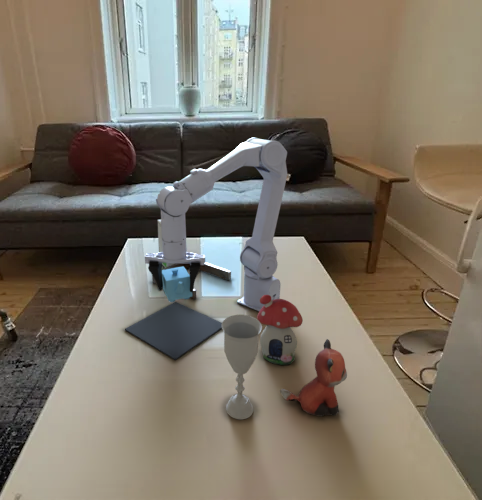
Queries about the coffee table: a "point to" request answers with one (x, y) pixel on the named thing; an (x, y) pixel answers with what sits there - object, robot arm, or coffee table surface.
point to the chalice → (240, 358)
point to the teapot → (176, 283)
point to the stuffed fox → (322, 384)
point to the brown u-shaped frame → (205, 268)
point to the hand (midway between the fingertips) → (176, 289)
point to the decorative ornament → (278, 330)
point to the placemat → (175, 329)
